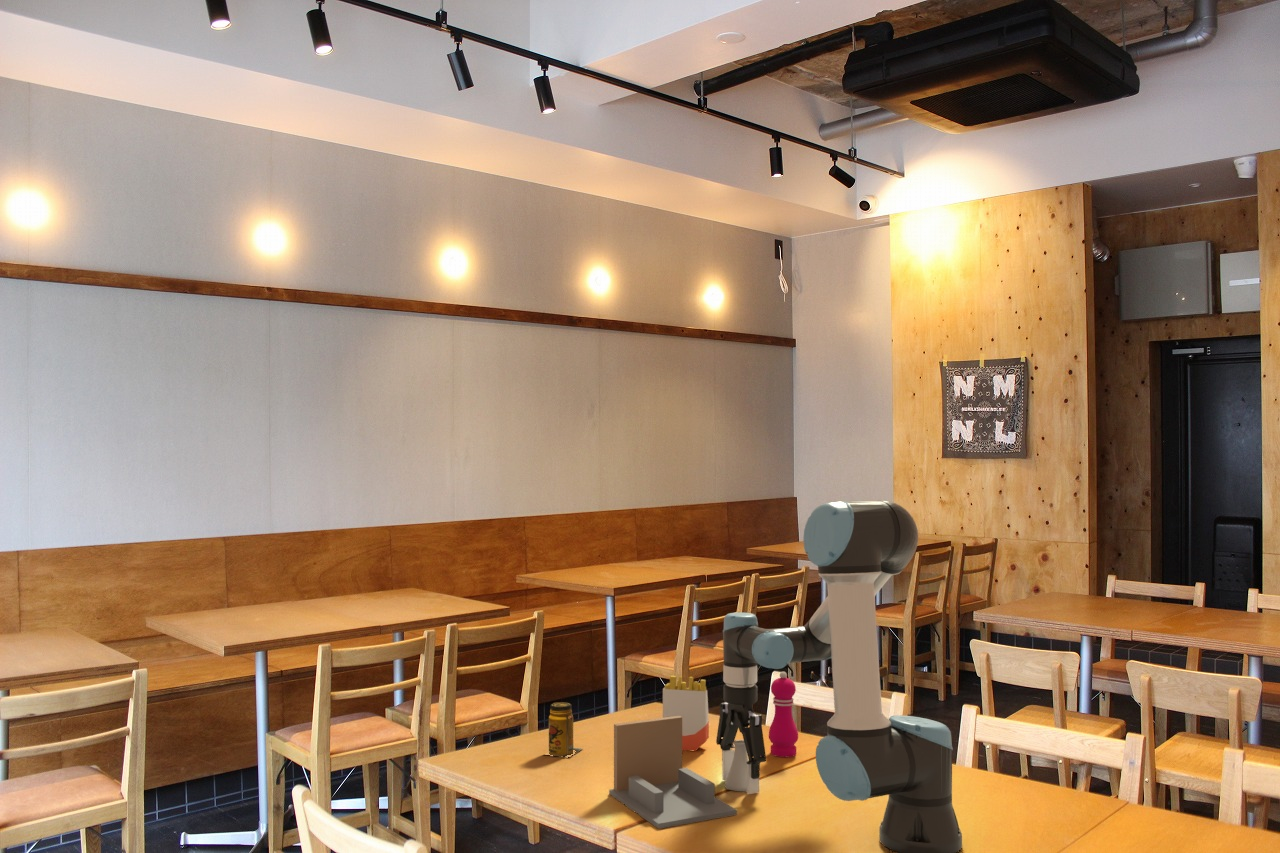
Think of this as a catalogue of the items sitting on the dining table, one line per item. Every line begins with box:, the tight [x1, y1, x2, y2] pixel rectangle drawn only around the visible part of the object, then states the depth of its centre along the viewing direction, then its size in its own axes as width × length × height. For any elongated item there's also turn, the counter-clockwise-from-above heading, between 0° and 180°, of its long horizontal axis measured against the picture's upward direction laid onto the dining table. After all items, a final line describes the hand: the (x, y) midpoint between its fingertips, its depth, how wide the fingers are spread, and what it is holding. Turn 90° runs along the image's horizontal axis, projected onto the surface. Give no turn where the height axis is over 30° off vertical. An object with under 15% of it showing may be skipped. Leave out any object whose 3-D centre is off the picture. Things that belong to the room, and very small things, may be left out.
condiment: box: [548, 701, 584, 759], centre depth 256 cm, size 7×8×12 cm
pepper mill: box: [768, 671, 799, 758], centre depth 255 cm, size 7×7×20 cm
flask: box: [724, 739, 749, 792], centre depth 229 cm, size 7×7×10 cm
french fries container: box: [662, 675, 710, 752], centre depth 260 cm, size 5×11×18 cm, turn 75°
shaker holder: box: [608, 716, 738, 830], centre depth 218 cm, size 23×18×15 cm
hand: (740, 785), depth 229 cm, fingers open, 9 cm apart
